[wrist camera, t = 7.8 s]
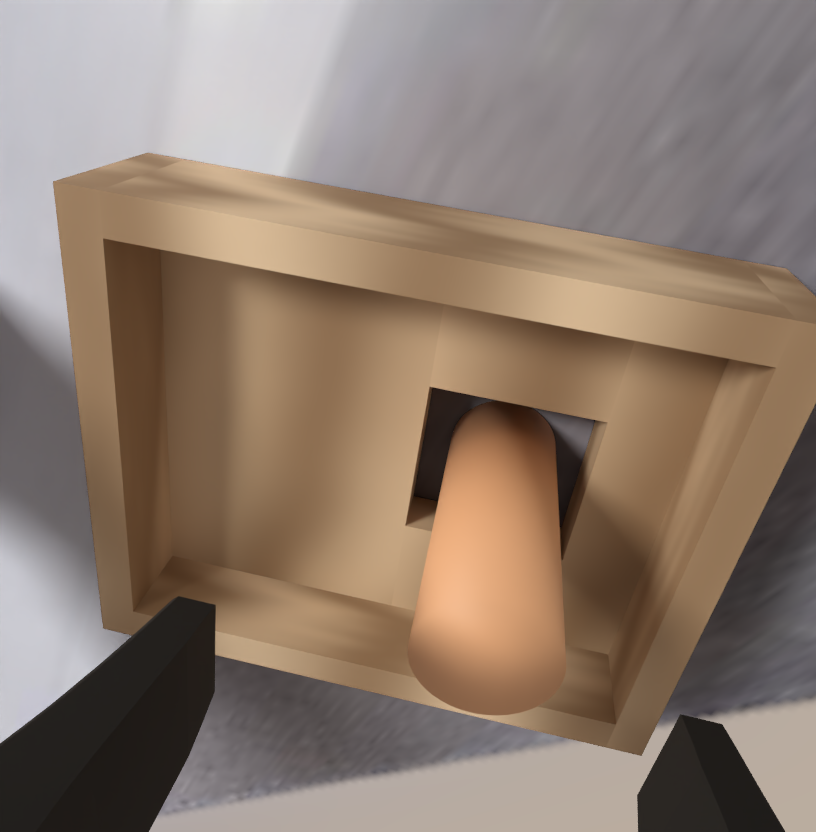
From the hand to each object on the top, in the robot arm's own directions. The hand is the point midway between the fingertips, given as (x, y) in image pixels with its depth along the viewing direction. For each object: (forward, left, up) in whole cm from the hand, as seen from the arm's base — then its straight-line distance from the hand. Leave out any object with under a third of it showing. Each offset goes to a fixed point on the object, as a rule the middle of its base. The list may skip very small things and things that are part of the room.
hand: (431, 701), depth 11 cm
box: (-2, -1, -10) cm, 10 cm away
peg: (+1, -1, -10) cm, 10 cm away
